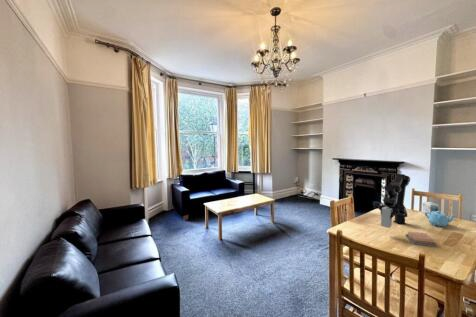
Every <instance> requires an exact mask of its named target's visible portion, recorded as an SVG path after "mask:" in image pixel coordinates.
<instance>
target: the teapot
mask: <svg viewBox="0 0 476 317" xmlns="http://www.w3.org/2000/svg"><path fill="white" fill-rule="evenodd" d="M427 214H430V215H429V216H428V215H427ZM424 216H425V217H426V218H427V221H428V223H430V224H431V226H433V227H436V226H440V227H441V228H446V227H447V226H448V225H449V223H451V222H452V221H453V218H454V216H456V214H451V215H450V216H449V218H448V216H447V215H446V214H445V213H444V212H441V211H440V210H439V211H436V212H432V213H429V212H425V214H424Z"/></svg>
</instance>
